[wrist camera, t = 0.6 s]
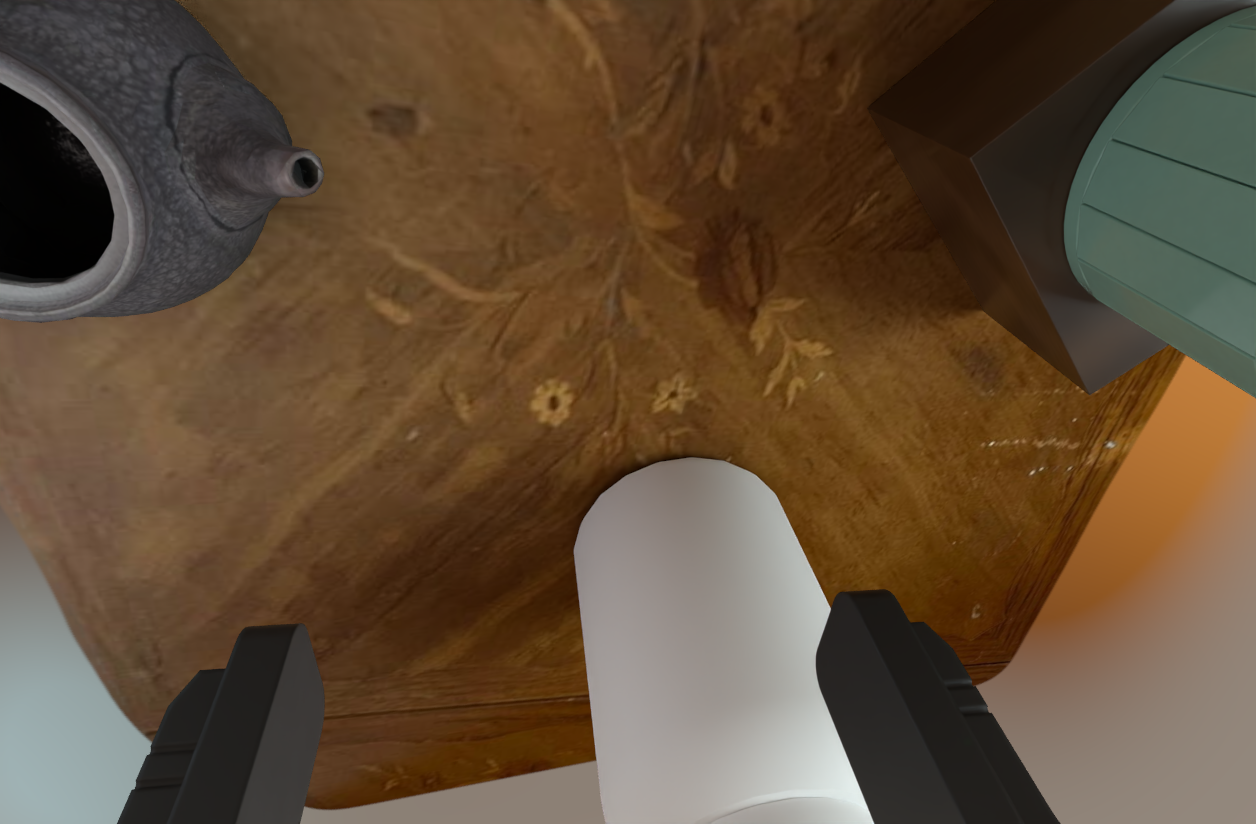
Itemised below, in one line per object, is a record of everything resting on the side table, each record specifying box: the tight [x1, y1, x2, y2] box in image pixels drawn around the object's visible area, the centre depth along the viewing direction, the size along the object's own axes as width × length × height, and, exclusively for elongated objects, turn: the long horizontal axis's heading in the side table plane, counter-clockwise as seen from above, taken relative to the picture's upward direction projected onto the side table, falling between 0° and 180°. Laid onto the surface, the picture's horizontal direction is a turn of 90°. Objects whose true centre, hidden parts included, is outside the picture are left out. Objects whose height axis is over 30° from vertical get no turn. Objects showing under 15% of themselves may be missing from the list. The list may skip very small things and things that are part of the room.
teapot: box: [0, 0, 324, 323], centre depth 20 cm, size 19×15×10 cm
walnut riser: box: [867, 0, 1256, 395], centre depth 28 cm, size 13×13×8 cm
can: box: [574, 457, 874, 824], centre depth 34 cm, size 12×12×20 cm
